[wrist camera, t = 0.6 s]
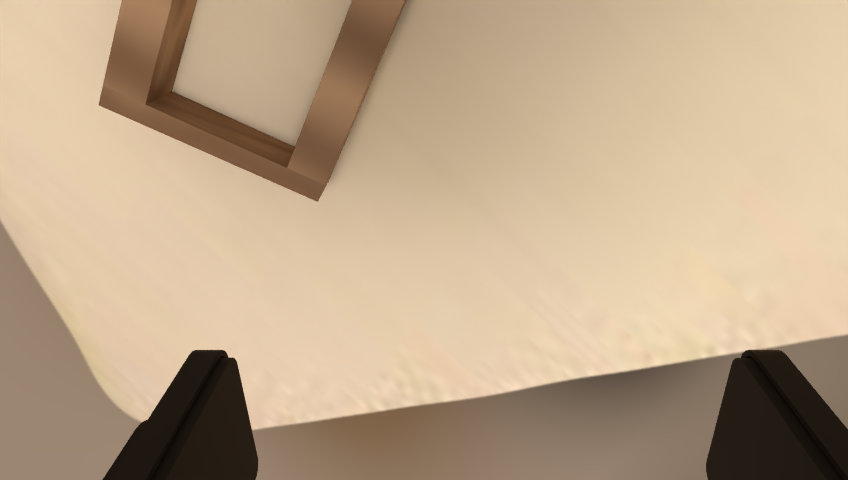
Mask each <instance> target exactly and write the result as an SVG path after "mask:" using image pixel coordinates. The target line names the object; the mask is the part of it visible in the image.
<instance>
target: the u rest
mask: <svg viewBox="0 0 848 480" xmlns="http://www.w3.org/2000/svg"><path fill="white" fill-rule="evenodd" d="M196 1H197V0H122V3H121V7H120V12H119V16H118V21H117V25H116V30H115V34H114V38H113V43H112V47H111V52H110V56H109V61H108V65H107V70H106V74H105V79H104V83H103V88H102V92H101V97H100V101H99V105H100V106H102V107H104V108H107V109H109V110H111V111H113V112H116V113H118V114H120V115H122V116H125V117H127V118H129V119H131V120H134V121H136V122H138V123H141V124H143V125H145V126H147V127H150V128H152V129H154V130H156V131H159V132H161V133H163V134H165V135H168V136H170V137H172V138H174V139H177V140H179V141H181V142H184V143H186V144H188V145H190V146H193V147H195V148H197V149H199V150H202V151H204V152H206V153H208V154H211V155H213V156H215V157H218V158H220V159H222V160H224V161H227V162H229V163H231V164H233V165H236V166H238V167H240V168H242V169H245V170H247V171H249V172H252V173H254V174H256V175H258V176H261V177H263V178H265V179H267V180H270V181H272V182H274V183H276V184H279V185H281V186H283V187H286V188H288V189H290V190H292V191H295V192H297V193H299V194H301V195H304V196H306V197H308V198H310V199H313V200H315V201H317V202H318V200H319V198H320V196H321V195H322V193H323V191H324V189H325V187H326V185H327V183H328V181H329V179H330V176H331V174H332V172H333V169H334V167H335V165H336V162H337V160H338V158H339V155H340V153H341V151H342V148H343V146H344V144H345V141H346V139H347V137H348V134H349V132H350V130H351V127H352V125H353V123H354V121H355V118H356V116H357V114H358V111H359V109H360V107H361V104H362V102H363V100H364V97H365V95H366V93H367V90H368V88H369V86H370V83H371V81H372V79H373V76H374V74H375V72H376V69H377V67H378V65H379V62H380V60H381V58H382V55H383V53H384V51H385V48H386V46H387V44H388V41H389V39H390V37H391V34H392V32H393V30H394V27H395V25H396V23H397V20H398V18H399V16H400V13H401V11H402V9H403V6H404V4H405V2H406V0H352V3H351V5H350V8H349V10H348V13H347V15H346V18H345V21H344V23H343V26H342V28H341V31H340V33H339V36H338V39H337V41H336V44H335V46H334V49H333V51H332V54H331V56H330V59H329V62H328V64H327V67H326V69H325V72H324V74H323V77H322V79H321V82H320V85H319V87H318V90H317V92H316V95H315V97H314V100H313V103H312V105H311V108H310V110H309V113H308V115H307V118H306V120H305V123H304V126H303V128H302V131H301V133H300V136H299V138H298V141H297V144H296V146H295V147H293V146H291V145H288V144H286V143H284V142H282V141H280V140H277V139H275V138H273V137H271V136H269V135H266V134H264V133H262V132H260V131H258V130H255V129H253V128H251V127H249V126H247V125H244V124H242V123H240V122H238V121H236V120H233V119H231V118H229V117H227V116H225V115H222V114H220V113H218V112H216V111H214V110H211V109H209V108H207V107H205V106H203V105H200V104H198V103H196V102H194V101H192V100H189V99H187V98H185V97H183V96H181V95H178V94H176V93H174V92H172V88H173V84H174V81H175V77H176V73H177V70H178V66H179V63H180V59H181V55H182V52H183V48H184V45H185V41H186V37H187V34H188V30H189V26H190V23H191V19H192V16H193V12H194V8H195V5H196Z"/></svg>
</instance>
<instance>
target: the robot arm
mask: <svg viewBox="0 0 848 480" xmlns="http://www.w3.org/2000/svg"><path fill="white" fill-rule="evenodd" d="M257 471H258V457H257V452H256V447H255V443H254V439H253V434H252V429H251V424H250V420H249V415H248V411H247V406H246V401H245V397H244V392H243V388H242V383H241V378H240V374H239V369H238V365H237V361H236V360H235V358H228V355H227V353H226V352H225V351H224V350H195V351H192V352H191V354H190V355H189V356H188V358H187V359H186V361H185V362H184V364H183V366H182V367H181V369H180V370H179V372H178V373H177V375H176V377H175V378H174V380H173V381H172V383H171V384H170V386H169V387H168V389H167V391H166V392H165V394H164V395H163V397H162V398H161V400H160V402H159V403H158V405H157V406H156V408H155V409H154V411H153V412H152V414H151V416H150V417H149V419H148V420H146V421H144V422H142V423H141V424H140V425H139V426H138V427H137V428H136V430H135V431H134V433H133V434H132V436H131V437H130V439H129V440H128V442H127V443H126V445H125V446H124V448H123V449H122V451H121V453H120V454H119V456H118V457H117V458H116V460H115V462H114V463H113V465H112V466H111V468H110V469H109V471H108V472H107V474H106V476H105V477H104V478H103V480H255V479H256V476H257ZM706 472H707V477H708V480H848V429H847V428H846V427H845V426H844V424H843V423H842V422H841V421H840V420H839V418H838V417H837V416H836V415H835V414H834V412H833V411H832V410H831V409H830V407H829V406H828V405H827V404H826V403H825V401H824V400H823V399H822V398H821V396H820V395H819V394H818V393H817V392H816V390H815V389H814V388H813V387H812V386H811V384H810V383H809V382H808V381H807V379H806V378H805V377H804V376H803V375H802V373H801V372H800V371H799V370H798V369H797V368H796V366H795V365H794V364H793V363H792V362H791V360H790V359H789V358H788V357H787V355H786V354H785V353H783V352H782V351H779V350H747V351H745V352H744V353H743V354H742V356H741V358H736V359H734V360H733V362H732V365H731V369H730V373H729V377H728V381H727V385H726V388H725V392H724V396H723V400H722V404H721V408H720V411H719V415H718V419H717V423H716V427H715V431H714V435H713V439H712V443H711V447H710V451H709V454H708V458H707V463H706Z"/></svg>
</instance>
